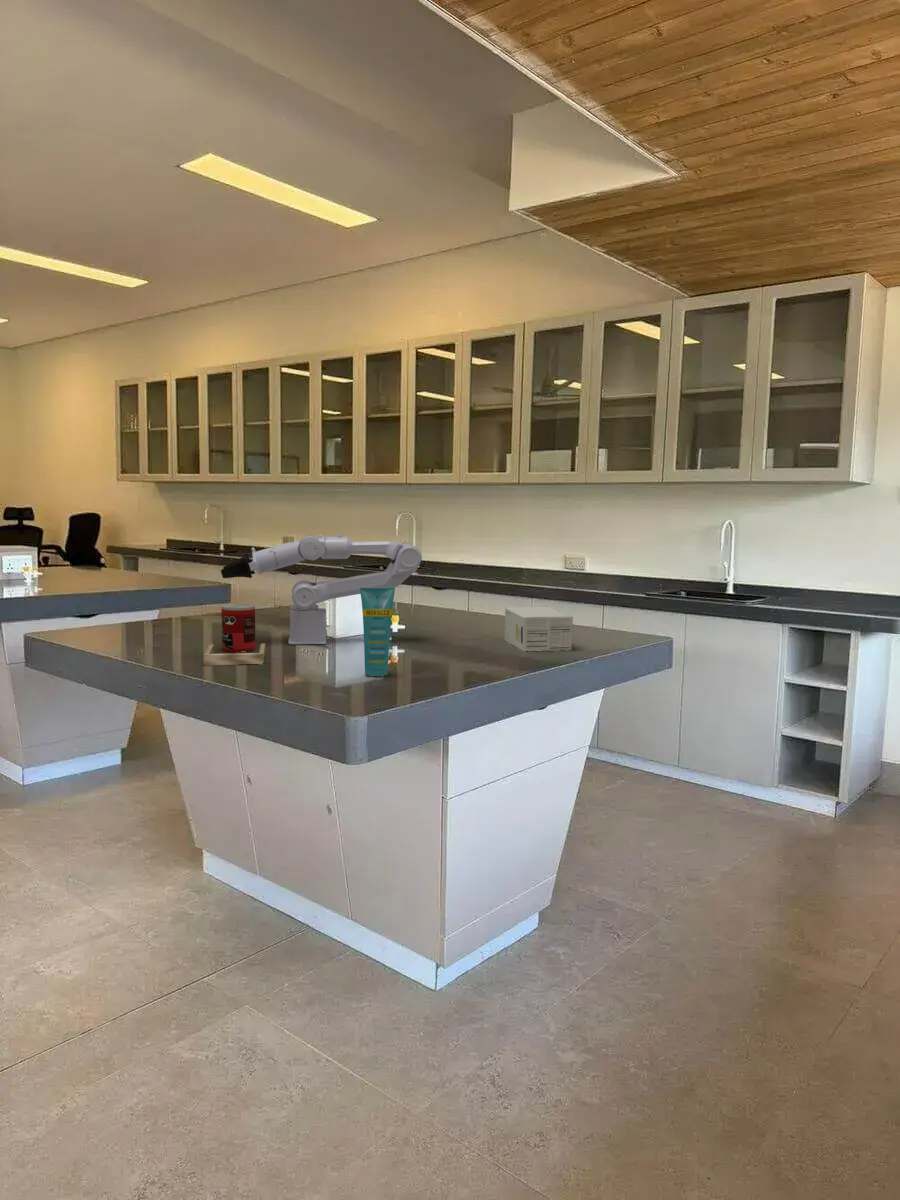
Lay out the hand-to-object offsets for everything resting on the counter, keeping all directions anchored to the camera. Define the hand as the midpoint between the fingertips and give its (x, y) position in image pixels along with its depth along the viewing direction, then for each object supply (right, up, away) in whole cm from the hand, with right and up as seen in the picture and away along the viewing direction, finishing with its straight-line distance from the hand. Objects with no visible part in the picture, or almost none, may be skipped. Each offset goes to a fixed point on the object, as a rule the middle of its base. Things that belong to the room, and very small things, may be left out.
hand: (223, 572), depth 215 cm
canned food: (+5, -19, -6) cm, 21 cm away
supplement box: (+80, -19, +8) cm, 83 cm away
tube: (+41, -23, -30) cm, 56 cm away
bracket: (+7, -21, -16) cm, 27 cm away
